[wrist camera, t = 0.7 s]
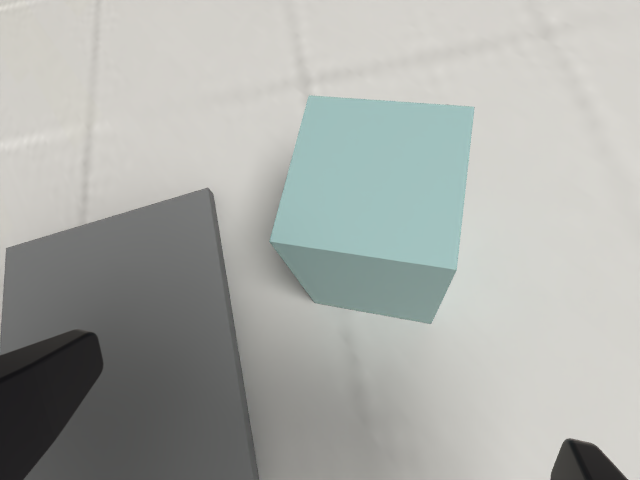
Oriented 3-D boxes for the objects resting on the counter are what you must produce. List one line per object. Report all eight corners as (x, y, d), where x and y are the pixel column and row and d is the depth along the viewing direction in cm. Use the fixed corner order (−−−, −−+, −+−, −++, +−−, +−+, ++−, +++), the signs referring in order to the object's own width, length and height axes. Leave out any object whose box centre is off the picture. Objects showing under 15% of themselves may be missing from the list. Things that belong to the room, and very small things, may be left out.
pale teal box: (431, 323, 21) (456, 269, 13) (314, 302, 22) (269, 241, 14) (444, 214, 23) (474, 107, 15) (337, 201, 24) (308, 95, 16)
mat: (260, 487, 20) (254, 490, 19) (1, 554, 20) (-14, 559, 19) (213, 193, 26) (207, 187, 25) (16, 252, 26) (6, 248, 26)
